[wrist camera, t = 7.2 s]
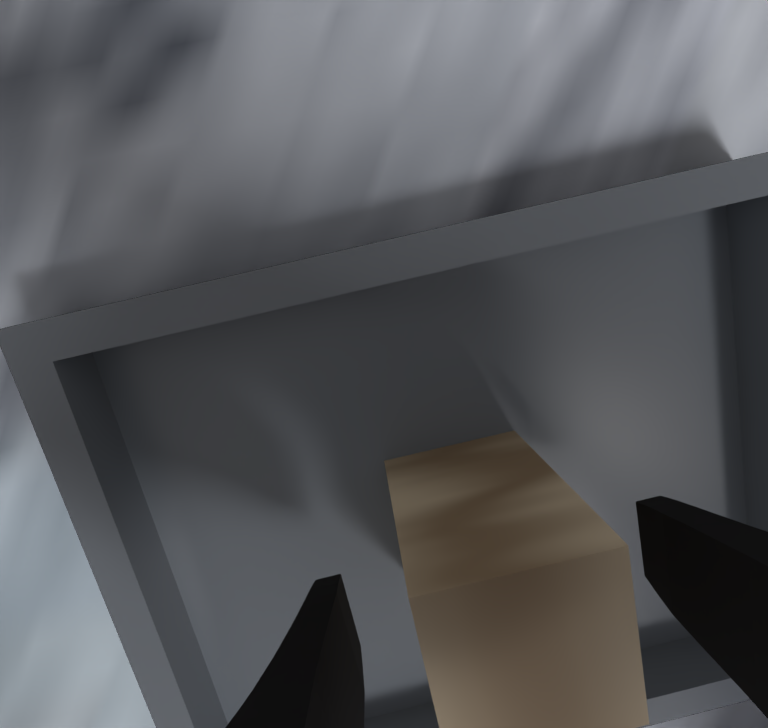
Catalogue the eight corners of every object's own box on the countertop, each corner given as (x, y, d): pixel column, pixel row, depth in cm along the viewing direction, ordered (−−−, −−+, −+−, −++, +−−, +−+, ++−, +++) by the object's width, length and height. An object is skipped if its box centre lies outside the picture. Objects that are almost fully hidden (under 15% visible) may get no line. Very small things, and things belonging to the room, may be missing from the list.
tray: (735, 162, 14) (817, 140, 12) (762, 620, 17) (830, 679, 15) (57, 318, 14) (-7, 330, 11) (223, 757, 17) (202, 840, 15)
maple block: (514, 430, 14) (628, 545, 8) (533, 546, 15) (649, 724, 9) (384, 460, 14) (408, 598, 8) (411, 576, 15) (450, 774, 9)
